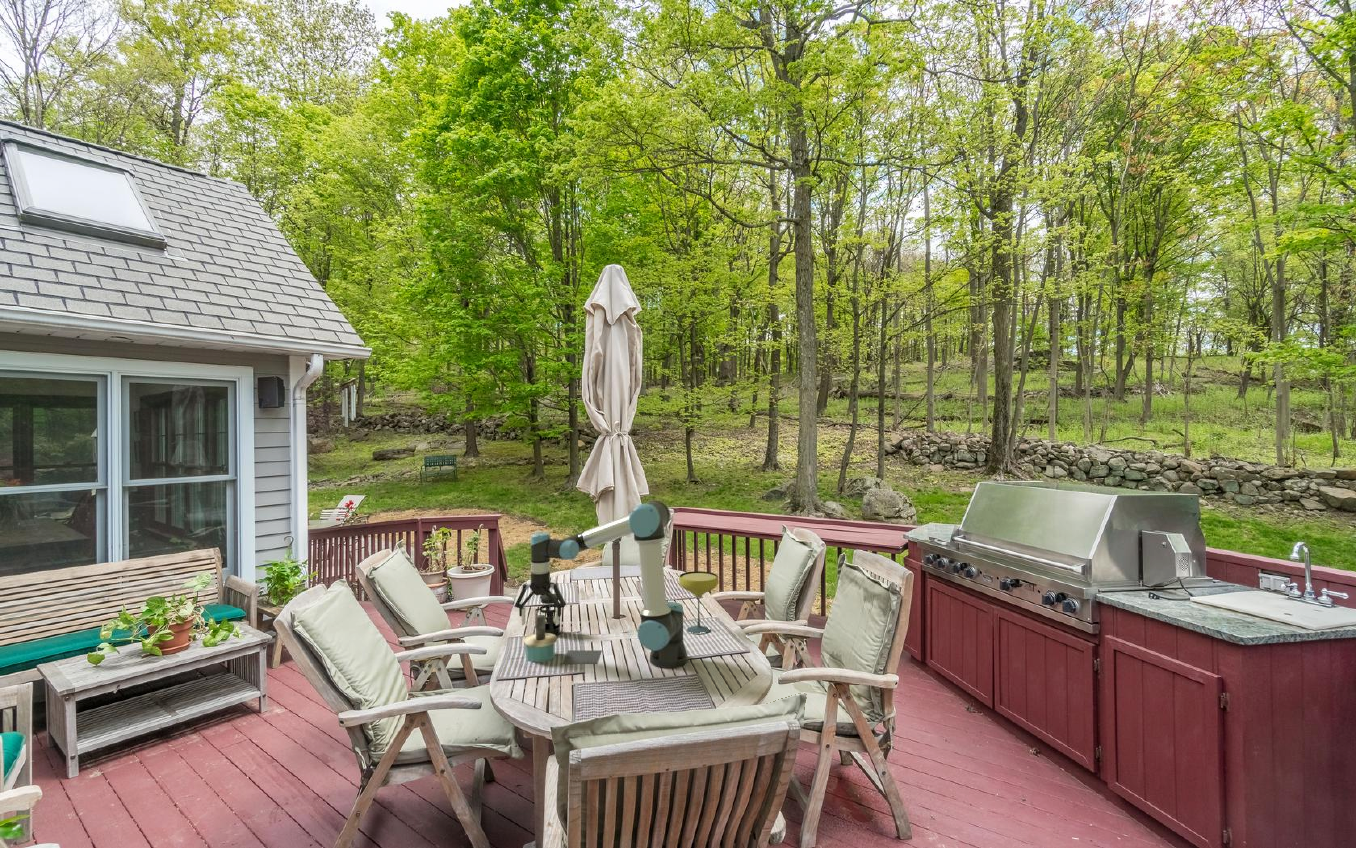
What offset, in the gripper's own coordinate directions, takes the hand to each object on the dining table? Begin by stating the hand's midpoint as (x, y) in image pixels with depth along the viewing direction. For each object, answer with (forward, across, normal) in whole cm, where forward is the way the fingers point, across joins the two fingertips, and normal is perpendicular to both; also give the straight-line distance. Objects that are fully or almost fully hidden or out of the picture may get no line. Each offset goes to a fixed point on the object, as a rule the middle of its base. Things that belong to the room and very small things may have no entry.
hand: (540, 624), depth 236 cm
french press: (+14, +3, -28) cm, 31 cm away
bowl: (+14, 0, 0) cm, 14 cm away
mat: (+14, -17, 0) cm, 22 cm away
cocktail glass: (+14, -65, -33) cm, 74 cm away
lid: (+7, 0, 0) cm, 7 cm away
